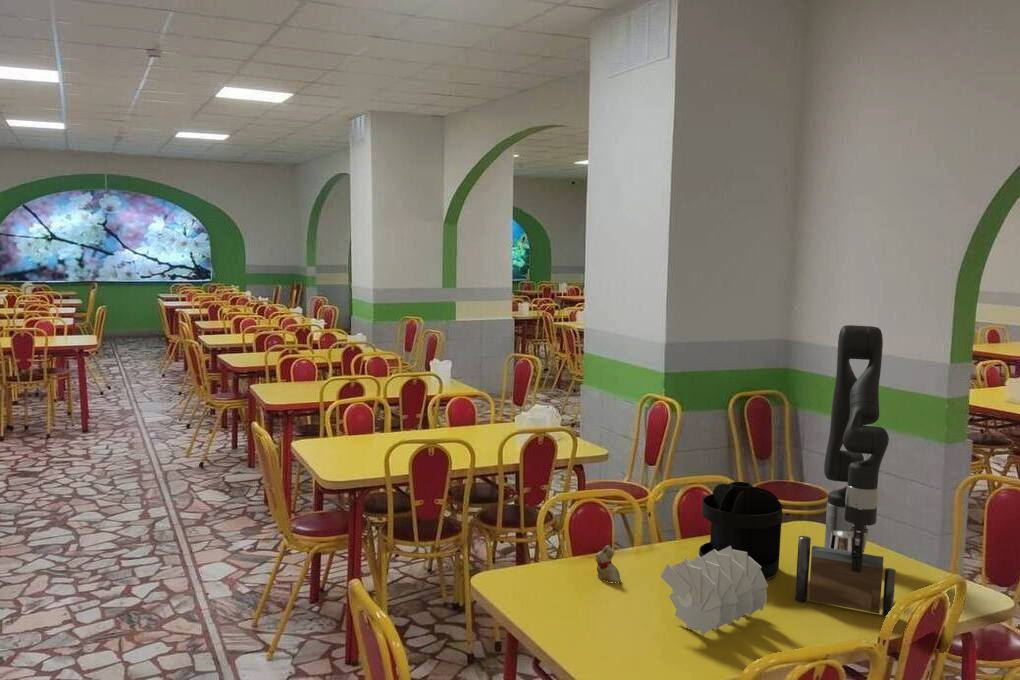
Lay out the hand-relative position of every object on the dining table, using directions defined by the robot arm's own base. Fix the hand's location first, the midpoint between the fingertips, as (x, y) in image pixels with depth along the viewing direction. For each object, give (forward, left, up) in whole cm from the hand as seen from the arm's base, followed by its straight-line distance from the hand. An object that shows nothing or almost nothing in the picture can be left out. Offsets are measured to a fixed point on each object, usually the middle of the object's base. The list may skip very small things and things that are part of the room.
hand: (856, 569), depth 218 cm
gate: (0, -3, -10) cm, 10 cm away
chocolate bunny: (+9, -63, -11) cm, 65 cm away
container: (-16, -32, -11) cm, 38 cm away
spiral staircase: (+24, -31, -11) cm, 40 cm away
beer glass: (-15, -4, -11) cm, 20 cm away
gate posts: (0, -3, -11) cm, 11 cm away
